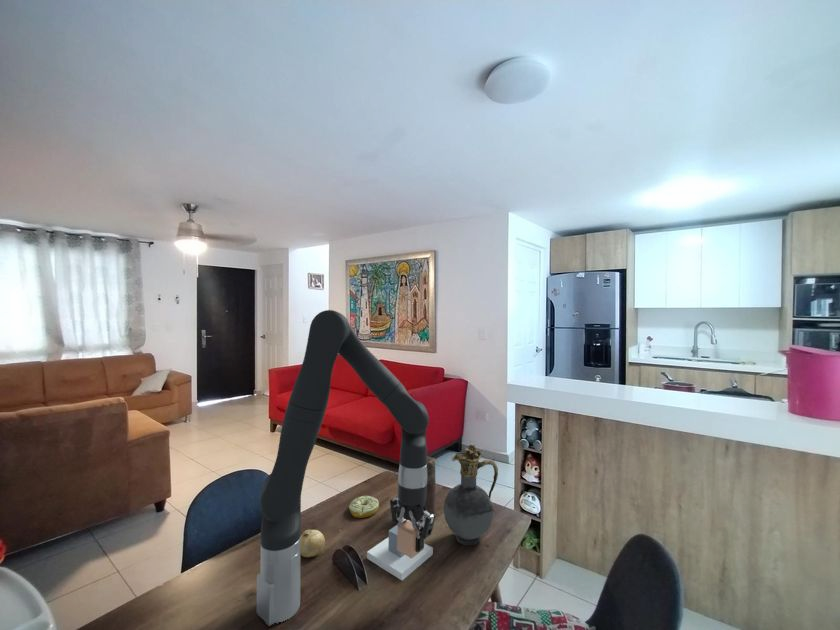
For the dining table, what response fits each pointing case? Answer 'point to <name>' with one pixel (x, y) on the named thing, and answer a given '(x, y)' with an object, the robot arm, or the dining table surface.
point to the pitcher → (469, 500)
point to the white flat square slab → (397, 559)
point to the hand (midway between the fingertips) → (410, 545)
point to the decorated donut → (364, 506)
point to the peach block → (407, 539)
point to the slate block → (394, 542)
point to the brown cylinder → (431, 486)
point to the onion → (311, 543)
